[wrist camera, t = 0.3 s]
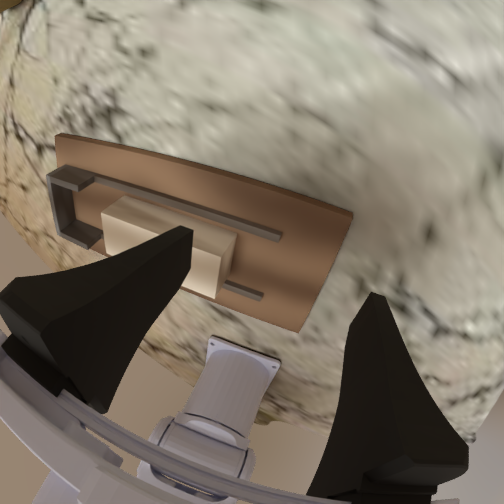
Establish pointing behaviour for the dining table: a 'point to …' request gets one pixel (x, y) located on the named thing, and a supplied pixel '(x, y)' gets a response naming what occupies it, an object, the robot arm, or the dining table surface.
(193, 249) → the cream rectangular block
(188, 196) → the board
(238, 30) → the dining table surface
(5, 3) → the squeeze bottle
